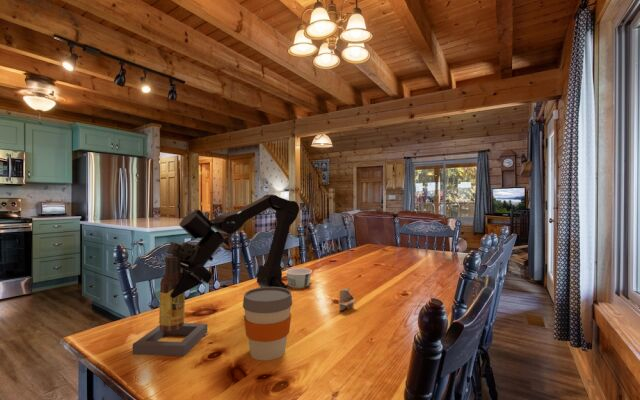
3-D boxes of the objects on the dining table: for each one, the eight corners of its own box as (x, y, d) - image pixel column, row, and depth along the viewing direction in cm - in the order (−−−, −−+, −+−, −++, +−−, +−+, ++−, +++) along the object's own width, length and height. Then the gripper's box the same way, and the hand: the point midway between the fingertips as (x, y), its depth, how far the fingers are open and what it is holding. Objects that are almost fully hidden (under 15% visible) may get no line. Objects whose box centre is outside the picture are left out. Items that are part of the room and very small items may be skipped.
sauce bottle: (174, 334, 82) (174, 259, 81) (153, 332, 83) (153, 258, 83) (189, 324, 88) (189, 254, 88) (170, 322, 89) (170, 253, 89)
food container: (317, 284, 142) (317, 270, 142) (301, 291, 132) (301, 275, 132) (296, 280, 148) (296, 266, 148) (279, 286, 138) (279, 271, 138)
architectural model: (356, 309, 111) (356, 289, 111) (345, 315, 106) (345, 293, 106) (348, 307, 114) (349, 287, 114) (337, 312, 108) (337, 291, 108)
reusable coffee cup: (270, 370, 72) (270, 305, 71) (232, 355, 78) (232, 295, 78) (301, 347, 82) (301, 291, 82) (265, 336, 89) (266, 284, 89)
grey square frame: (207, 332, 91) (207, 323, 91) (184, 355, 78) (184, 345, 78) (163, 330, 92) (163, 322, 92) (132, 353, 79) (132, 344, 79)
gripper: (172, 228, 94) (132, 271, 87) (201, 234, 82) (156, 285, 74) (198, 251, 100) (162, 293, 92) (228, 259, 87) (189, 309, 80)
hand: (166, 294), depth 84 cm, fingers closed on sauce bottle, 6 cm apart
